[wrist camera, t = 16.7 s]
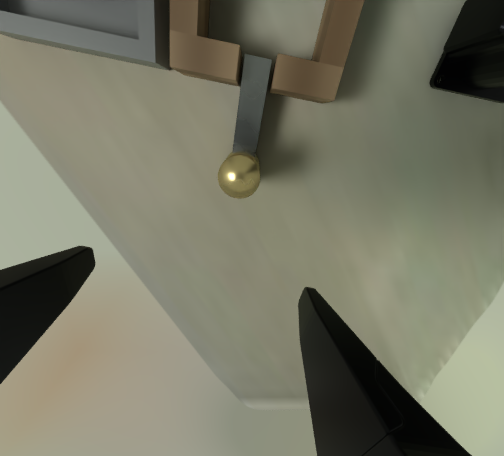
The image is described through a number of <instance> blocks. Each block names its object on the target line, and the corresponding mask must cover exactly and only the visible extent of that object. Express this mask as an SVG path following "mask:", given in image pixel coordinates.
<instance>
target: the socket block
mask: <svg viewBox="0 0 504 456" xmlns="http://www.w3.org/2000/svg"><path fill="white" fill-rule="evenodd" d="M363 3H364V0H326V3H325V7H324V11H323V16H322V20H321V24H320V28H319V32H318V36H317V40H316V44H315V48H314V53H313V57H312V61H311V60H306V59H301V58H297V57H292V56H288V55H283V54H278V56H277V59H276V62H275V66H274V71H273V77H272V82H271V88H270V93H274V94H279V95H283V96H288V97H293V98H298V99H303V100H308V101H313V102H317V103H326V102H330V101H334V99H335V96H336V92H337V89H338V86H339V83H340V79H341V76H342V73H343V69H344V66H345V63H346V59H347V56H348V53H349V50H350V46H351V43H352V40H353V36H354V33H355V30H356V26H357V23H358V20H359V16H360V13H361V10H362V7H363ZM209 11H210V0H170V67H171V68H173V69H175V70H176V71H178V72H180V73H181V74H183V75H186V76H191V77H196V78H201V79H206V80H211V81H215V82H220V83H225V84H230V85H235V86H239V82H240V74H241V66H242V58H243V57H242V53H241V49H240V45H237V44H232V43H228V42H223V41H219V40H214V39H209V38H208V27H209Z"/></svg>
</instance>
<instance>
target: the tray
mask: <svg viewBox="0 0 504 456" xmlns="http://www.w3.org/2000/svg"><path fill="white" fill-rule="evenodd" d="M0 34H3V35H6V36H9V37H12V38H15V39H19V40H24V41H29V42H34V43H39V44H44V45H48V46H53V47H58V48H63V49H68V50H73V51H77V52H82V53H87V54H92V55H97V56H102V57H107V58H111V59H116V60H121V61H126V62H131V63H136V64H141V65H145V66H150V67H155V68H160V69H165V70H170V60H169V0H0Z"/></svg>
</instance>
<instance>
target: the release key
mask: <svg viewBox="0 0 504 456" xmlns="http://www.w3.org/2000/svg"><path fill="white" fill-rule="evenodd" d="M271 62H272V60H271V59H267V58H262V57H257V56H253V55H248V54H245V58H244V65H243V73H242V81H241V89H240V97H239V105H238V113H237V121H236V128H235V136H234V144H233V151H232V152H231V153H230V154H229V156H228V157H227V158H226V160H225V161H224V162H223V164H222V165H221V167H220V169H219V172H218V182H219V185H220V187H221V189H222V190H223V191H224V192H225V193H226V194H227V195H229V196H231V197H233V198H246V197H249V196H250V195H252V194H253V193H254V192H255V191H256V190H257V188H258V186H259V183H260V165H259V160H258V157H257V156H256V148H257V142H258V136H259V131H260V125H261V119H262V114H263V108H264V102H265V96H266V91H267V85H268V79H269V73H270V68H271Z"/></svg>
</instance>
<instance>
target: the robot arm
mask: <svg viewBox="0 0 504 456" xmlns="http://www.w3.org/2000/svg"><path fill="white" fill-rule="evenodd" d="M439 77H441V81H440V82H439V83H438V82H437V80H438V78H439ZM430 86H431V87H432V88H434V89H438V90H443V91H448V92H452V93H457V94H461V95H466V96H471V97H475V98H480V99H485V100H489V101H494V102H498V103H504V0H467V1H466V2H465V3H464V5H463V7H462V9H461V12H460V14H459V16H458V18H457V20H456V23H455V25H454V27H453V29H452V31H451V33H450V36H449V38H448V40H447V42H446V44H445V46H444V52H443V54H442V56H441V58H440V60H439V62H438V65H437V67H436V69H435V71H434V73H433V75H432V78H431V80H430ZM94 267H95V259H94V253H93V250H92V248H90V247H85V246H77V247H74V248H71V249H68V250H64V251H61V252H58V253H54V254H51V255H48V256H45V257H41V258H38V259H35V260H31V261H28V262H25V263H22V264H18V265H15V266H12V267H9V268H5V269H2V270H0V384H1V383H2V382H3V380H4V379H5V378H6V377H7V376H8V375H9V373H10V372H11V371H12V370H13V369H14V368H15V366H16V365H17V364H18V363H19V362H20V361H21V360H22V358H23V357H24V356H25V355H26V354H27V352H28V351H29V350H30V349H31V348H32V347H33V345H34V344H35V343H36V342H37V341H38V339H39V338H40V337H41V336H42V335H43V334H44V333H45V331H46V330H47V329H48V328H49V327H50V326H51V324H52V323H53V322H54V321H55V320H56V318H57V317H58V316H59V315H60V314H61V313H62V312H63V310H64V309H65V308H66V307H67V306H68V304H69V303H70V302H71V300H72V299H73V298H74V296H75V295H76V294H77V292H78V291H79V290H80V288H81V287H82V285H83V284H84V282H85V281H86V279H87V278H88V277H89V275H90V273H91V272H92V271H93V269H94ZM298 309H299V334H300V345H301V352H302V358H303V365H304V371H305V378H306V385H307V391H308V398H309V405H310V411H311V418H312V424H313V431H314V437H315V444H316V451H317V456H472V455H470V454H469V453H468V452H467V451H466V450H465V449H464V448H463V447H462V446H461V445H460V444H459V443H458V442H457V441H455V439H454V438H453V437H452V436H451V435H450V434H449V433H448V432H447V431H446V430H445V429H444V428H443V427H442V426H441V425H440V424H439V423H438V422H437V421H436V420H435V419H434V418H433V417H432V416H431V415H430V414H429V413H428V412H427V411H426V410H425V409H424V408H423V407H422V406H421V405H420V404H419V403H418V402H417V401H416V400H415V399H414V398H413V397H412V396H411V395H410V394H409V393H408V392H407V391H406V390H405V389H404V388H403V387H402V386H401V385H400V384H399V382H398V381H397V380H396V379H395V378H394V377H393V376H392V375H391V374H390V373H389V372H388V370H387V369H386V368H385V367H384V366H383V365H382V364H381V363H380V361H379V360H377V358H376V357H375V356H374V355H373V354H372V352H371V351H370V350H369V349H368V348H367V347H366V346H365V345H364V343H363V342H362V341H361V340H360V339H359V338H358V337H357V336H356V334H355V333H354V332H353V331H352V330H351V329H350V328H349V327H348V325H347V324H346V323H345V322H344V321H343V320H342V319H341V318H340V316H339V315H338V314H337V313H336V312H335V311H334V310H333V309H332V307H331V306H330V305H329V304H328V303H327V302H326V301H325V299H324V298H323V297H322V296H321V295H320V294H319V293H318V292H317V290H316V289H314V288H310V287H305V288H304V290H303V292H302V295H301V297H300V299H299V303H298Z"/></svg>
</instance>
